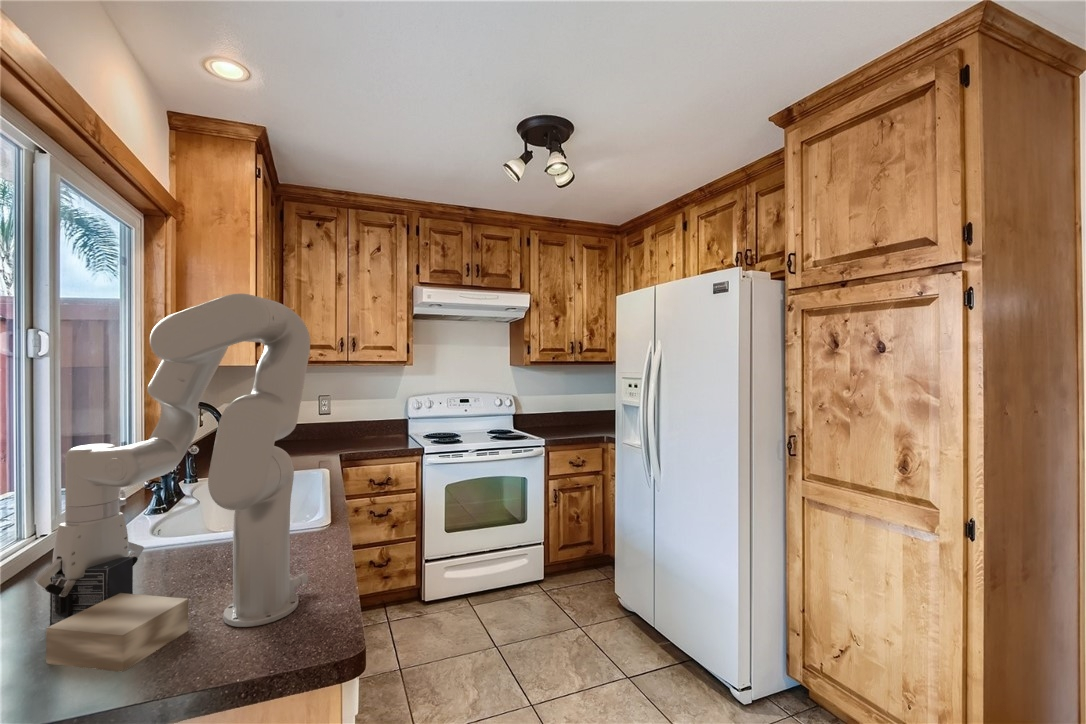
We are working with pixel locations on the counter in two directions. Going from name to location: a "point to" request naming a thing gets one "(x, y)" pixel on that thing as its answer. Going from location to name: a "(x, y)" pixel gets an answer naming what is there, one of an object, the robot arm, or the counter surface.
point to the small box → (97, 585)
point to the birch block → (116, 631)
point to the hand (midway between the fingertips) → (93, 604)
